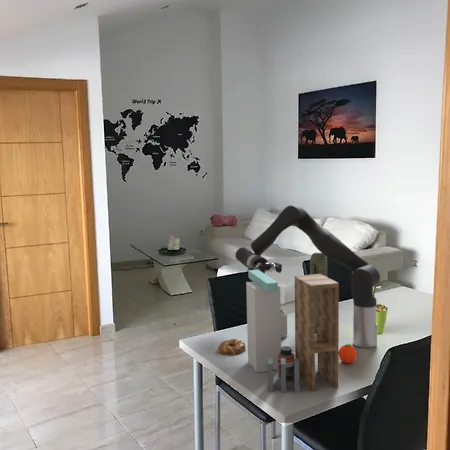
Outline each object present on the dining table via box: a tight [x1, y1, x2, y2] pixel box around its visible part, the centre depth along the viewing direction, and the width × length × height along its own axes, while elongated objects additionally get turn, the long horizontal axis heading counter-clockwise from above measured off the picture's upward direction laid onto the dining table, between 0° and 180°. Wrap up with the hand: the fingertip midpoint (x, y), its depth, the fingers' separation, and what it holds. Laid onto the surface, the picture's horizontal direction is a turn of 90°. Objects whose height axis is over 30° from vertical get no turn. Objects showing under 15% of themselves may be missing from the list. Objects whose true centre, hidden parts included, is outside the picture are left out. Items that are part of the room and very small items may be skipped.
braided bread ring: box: [217, 338, 246, 356], centre depth 210 cm, size 12×11×4 cm
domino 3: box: [293, 359, 300, 394], centre depth 173 cm, size 2×5×10 cm, turn 173°
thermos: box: [309, 252, 328, 333], centre depth 230 cm, size 9×12×35 cm
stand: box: [294, 274, 340, 392], centre depth 177 cm, size 14×10×37 cm
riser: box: [245, 281, 282, 373], centre depth 192 cm, size 10×10×32 cm
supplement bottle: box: [277, 345, 295, 382], centre depth 182 cm, size 6×6×11 cm
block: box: [247, 270, 279, 292], centre depth 190 cm, size 22×4×3 cm, turn 15°
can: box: [281, 308, 288, 339], centre depth 224 cm, size 8×8×12 cm
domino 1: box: [267, 358, 274, 393], centre depth 174 cm, size 2×5×10 cm, turn 173°
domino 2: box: [280, 358, 287, 393], centre depth 174 cm, size 2×5×10 cm, turn 173°
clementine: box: [338, 343, 358, 364], centre depth 194 cm, size 8×7×7 cm
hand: (270, 271), depth 209 cm, fingers open, 8 cm apart
